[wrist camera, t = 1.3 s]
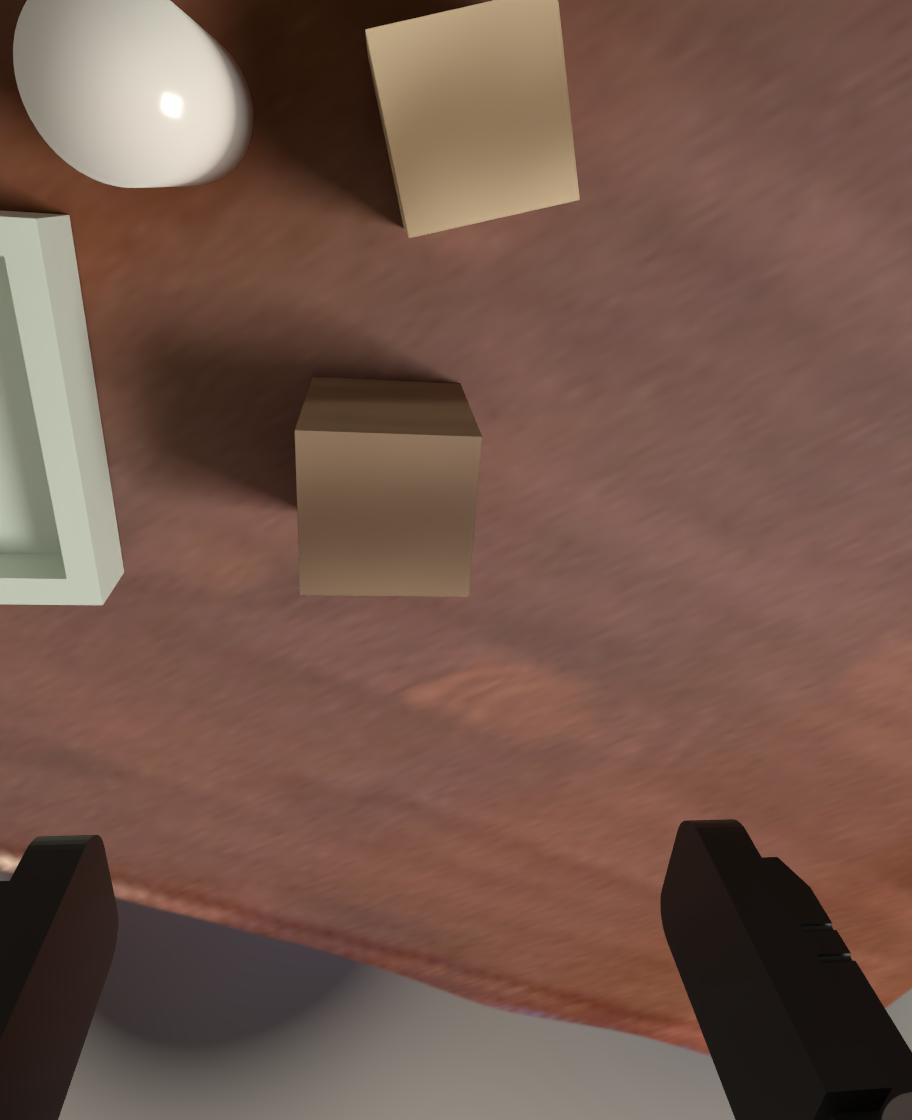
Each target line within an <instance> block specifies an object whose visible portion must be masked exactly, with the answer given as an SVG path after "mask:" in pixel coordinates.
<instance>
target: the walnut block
mask: <svg viewBox="0 0 912 1120" xmlns="http://www.w3.org/2000/svg"><path fill="white" fill-rule="evenodd" d="M481 444H482V435H481V433H480V431H479V428H478V426H477V423H476V421H475V418H474V416H473V413H472V411H471V408H470V406H469V404H468V401H467V399H466V396H465V394H464V391H463V389H462V386H461V384H460V383H440V382H417V381H394V380H371V379H348V378H326V377H312V379H311V382H310V385H309V388H308V391H307V394H306V397H305V400H304V403H303V407H302V410H301V413H300V416H299V419H298V422H297V425H296V428H295V454H296V484H297V514H298V544H299V575H300V595H355V596H453V597H469V586H470V574H471V562H472V550H473V538H474V527H475V515H476V503H477V491H478V479H479V468H480V456H481Z"/></svg>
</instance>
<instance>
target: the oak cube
mask: <svg viewBox="0 0 912 1120" xmlns="http://www.w3.org/2000/svg"><path fill="white" fill-rule="evenodd" d="M365 32H366V43H367V54H368V61H369V66H370V70H371V75H372V80H373V85H374V89H375V94H376V99H377V103H378V108H379V113H380V118H381V122H382V127H383V132H384V137H385V141H386V146H387V151H388V155H389V160H390V165H391V170H392V174H393V179H394V184H395V189H396V193H397V198H398V203H399V207H400V212H401V217H402V222H403V226H404V229H405V231H406V233H407V235H408V237H409V238H412V237H416V236H421V235H425V234H429V233H434V232H438V231H443V230H447V229H452V228H456V227H461V226H465V225H470V224H474V223H479V222H483V221H488V220H492V219H496V218H501V217H505V216H510V215H514V214H519V213H523V212H528V211H532V210H537V209H541V208H546V207H550V206H555V205H559V204H564V203H568V202H572V201H577V200H579V190H578V181H577V172H576V162H575V153H574V144H573V134H572V125H571V116H570V106H569V97H568V88H567V78H566V69H565V60H564V50H563V41H562V32H561V22H560V13H559V4H558V0H493V1H489V2H484V3H480V4H476V5H471V6H467V7H462V8H458V9H454V10H449V11H445V12H440V13H436V14H431V15H427V16H423V17H418V18H414V19H409V20H405V21H401V22H396V23H392V24H387V25H383V26H378V27H374V28H370V29H365Z"/></svg>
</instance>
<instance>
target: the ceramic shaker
mask: <svg viewBox="0 0 912 1120" xmlns="http://www.w3.org/2000/svg"><path fill="white" fill-rule="evenodd" d="M13 63H14V72H15V78H16V82H17V86H18V90H19V93H20V96H21V99H22V102H23V104H24V106H25V109H26V111H27V113H28V115H29V117H30V119H31V121H32V122H33V124H34V126H35V127H36V129H37V131H38V132H39V133H40V135H41V136H42V137H43V139H44V140H45V141H46V143H47V144H48V145H49V146H50V147H51V148H52V149H53V150H54V151H55V152H56V153H57V154H58V155H59V156H60V157H61V158H62V159H63V160H64V161H66V162H67V163H68V164H69V165H71V166H72V167H74V168H75V169H76V170H78V171H79V172H81V173H83V174H85V175H87V176H88V177H90V178H93V179H95V180H97V181H100V182H102V183H106V184H109V185H113V186H118V187H126V188H146V187H178V186H200V185H207V184H210V183H213V182H216V181H218V180H220V179H222V178H223V177H225V176H226V175H228V174H229V173H230V172H231V171H232V170H233V169H235V168H236V166H237V165H238V164H239V163H240V161H241V160H242V158H243V157H244V155H245V153H246V151H247V148H248V146H249V144H250V140H251V136H252V130H253V104H252V99H251V94H250V91H249V88H248V85H247V82H246V79H245V77H244V75H243V73H242V71H241V69H240V68H239V66H238V64H237V63H236V61H235V60H234V58H233V57H232V56H231V54H230V53H229V52H228V51H227V50H226V49H225V48H224V47H223V46H222V45H221V44H220V43H219V42H218V41H217V40H216V39H215V38H213V37H212V36H211V35H210V34H209V33H208V32H206V31H205V30H204V29H203V28H202V27H201V26H199V25H198V24H197V23H196V22H195V21H194V20H192V19H191V18H190V17H189V16H188V15H187V14H185V13H184V12H183V11H182V10H181V9H180V8H178V7H177V6H176V5H175V4H174V3H173V2H171V1H170V0H27V1H26V3H25V4H24V7H23V9H22V11H21V13H20V16H19V18H18V22H17V26H16V29H15V35H14V42H13Z"/></svg>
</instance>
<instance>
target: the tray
mask: <svg viewBox="0 0 912 1120" xmlns="http://www.w3.org/2000/svg"><path fill="white" fill-rule="evenodd" d="M123 573H124V568H123V561H122V555H121V548H120V542H119V535H118V529H117V522H116V516H115V509H114V503H113V496H112V490H111V483H110V477H109V470H108V464H107V457H106V451H105V444H104V438H103V431H102V425H101V418H100V412H99V405H98V399H97V392H96V386H95V379H94V373H93V366H92V360H91V353H90V347H89V340H88V334H87V327H86V321H85V314H84V307H83V301H82V294H81V288H80V281H79V275H78V268H77V262H76V255H75V249H74V242H73V236H72V229H71V223H70V216H69V215H62V214H46V213H31V212H16V211H0V604H30V605H103V604H104V602H105V601H106V599H107V598H108V596H109V595H110V593H111V592H112V590H113V589H114V587H115V586H116V584H117V582H118V581H119V579H120V578H121V576H122V575H123Z"/></svg>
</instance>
